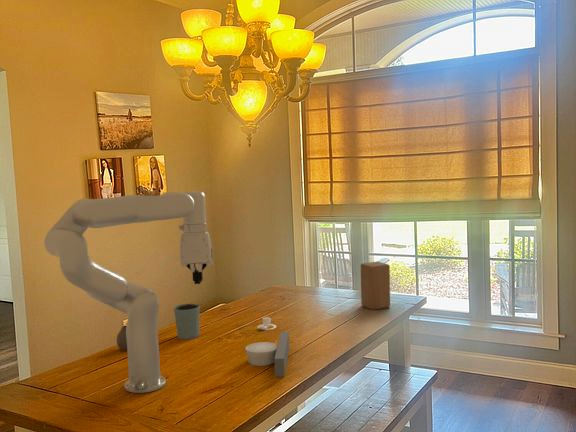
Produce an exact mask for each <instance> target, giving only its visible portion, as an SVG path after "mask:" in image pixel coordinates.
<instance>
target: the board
mask: <svg viewBox="0 0 576 432" xmlns="http://www.w3.org/2000/svg"><path fill="white" fill-rule="evenodd" d="M289 352H290V331H280V335H279V338H278V341H277V350H276V354H275V359H274V360H275V362H274V377H276V378H277V377H279V378H284V377H285V375H286V370H287V364H288V358H289Z"/></svg>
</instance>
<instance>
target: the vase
mask: <svg viewBox="0 0 576 432" xmlns="http://www.w3.org/2000/svg"><path fill="white" fill-rule="evenodd" d="M126 326H127V325H122V326H121V329H120V330H119V332H118V333H117V336H116V345H117V348H118V349H119V350H121V351H127V339H126Z"/></svg>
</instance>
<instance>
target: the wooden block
mask: <svg viewBox="0 0 576 432" xmlns="http://www.w3.org/2000/svg"><path fill="white" fill-rule="evenodd" d="M390 270H391V269H390V264H388V263H385V262H380V261H370V262H363V263H360V296H361V297H360V300H361V301H360V302H361V306H363V307H364V308H367V309H369V310H372V311H374V310H380V309H381V310H382V309H387V308H390V306H391V282H390V281H391V280H390V279H391V274H390V272H391V271H390Z"/></svg>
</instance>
